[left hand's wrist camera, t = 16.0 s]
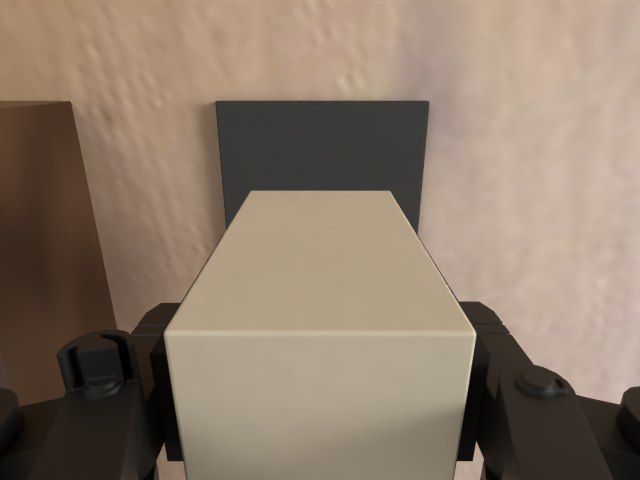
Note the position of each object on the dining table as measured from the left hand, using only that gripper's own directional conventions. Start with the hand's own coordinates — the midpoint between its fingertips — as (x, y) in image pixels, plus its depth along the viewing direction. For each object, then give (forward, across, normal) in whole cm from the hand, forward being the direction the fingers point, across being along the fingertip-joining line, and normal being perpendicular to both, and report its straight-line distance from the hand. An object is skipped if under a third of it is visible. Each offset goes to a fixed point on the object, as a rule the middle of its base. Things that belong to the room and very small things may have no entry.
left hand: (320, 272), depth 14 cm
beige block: (+2, 0, 0) cm, 2 cm away
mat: (+8, 0, 0) cm, 8 cm away
